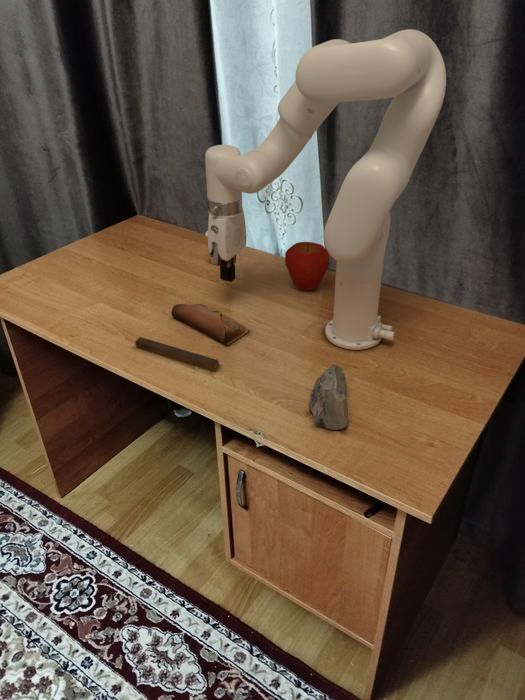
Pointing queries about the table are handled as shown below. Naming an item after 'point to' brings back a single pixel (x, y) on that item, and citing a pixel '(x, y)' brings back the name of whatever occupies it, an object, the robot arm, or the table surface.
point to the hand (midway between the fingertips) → (227, 279)
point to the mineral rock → (330, 399)
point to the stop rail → (177, 354)
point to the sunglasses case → (210, 321)
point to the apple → (307, 264)
